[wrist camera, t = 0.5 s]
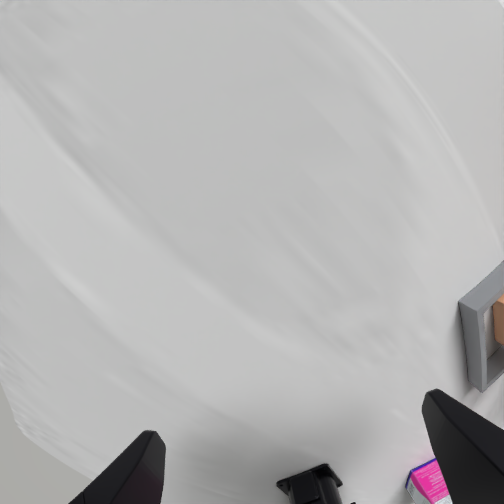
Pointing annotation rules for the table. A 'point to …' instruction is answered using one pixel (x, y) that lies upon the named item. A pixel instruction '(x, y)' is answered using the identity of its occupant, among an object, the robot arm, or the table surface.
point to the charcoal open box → (482, 330)
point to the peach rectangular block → (499, 319)
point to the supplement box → (428, 484)
